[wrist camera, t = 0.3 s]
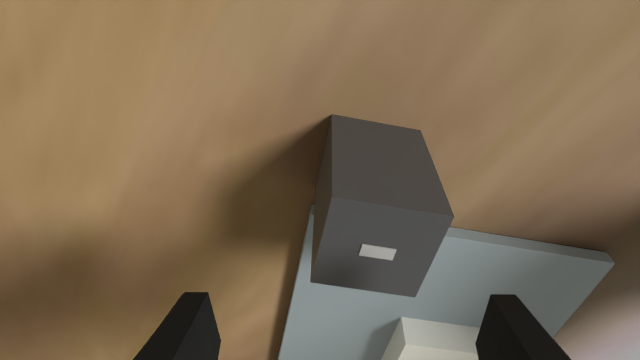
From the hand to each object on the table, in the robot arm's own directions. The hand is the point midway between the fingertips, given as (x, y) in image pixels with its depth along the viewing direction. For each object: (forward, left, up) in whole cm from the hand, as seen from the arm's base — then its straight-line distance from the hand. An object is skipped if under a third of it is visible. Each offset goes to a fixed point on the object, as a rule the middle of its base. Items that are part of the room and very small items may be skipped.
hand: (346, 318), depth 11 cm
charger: (-1, +1, -9) cm, 10 cm away
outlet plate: (-7, +12, -9) cm, 17 cm away
